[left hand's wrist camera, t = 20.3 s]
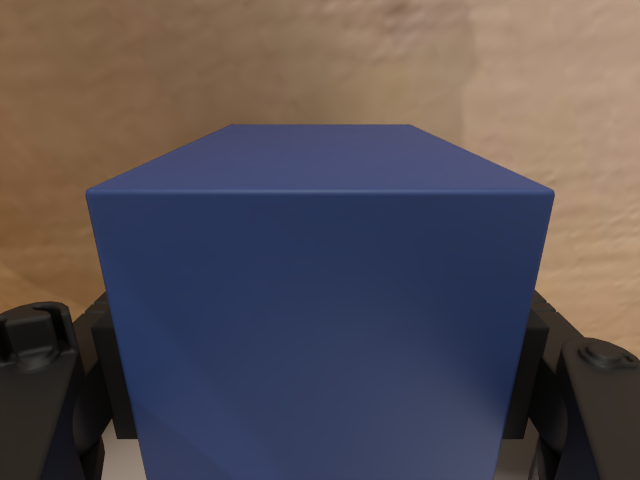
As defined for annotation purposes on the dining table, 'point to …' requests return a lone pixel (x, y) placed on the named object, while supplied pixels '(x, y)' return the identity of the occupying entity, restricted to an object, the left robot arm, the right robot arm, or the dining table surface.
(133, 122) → the dining table surface
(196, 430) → the brick
